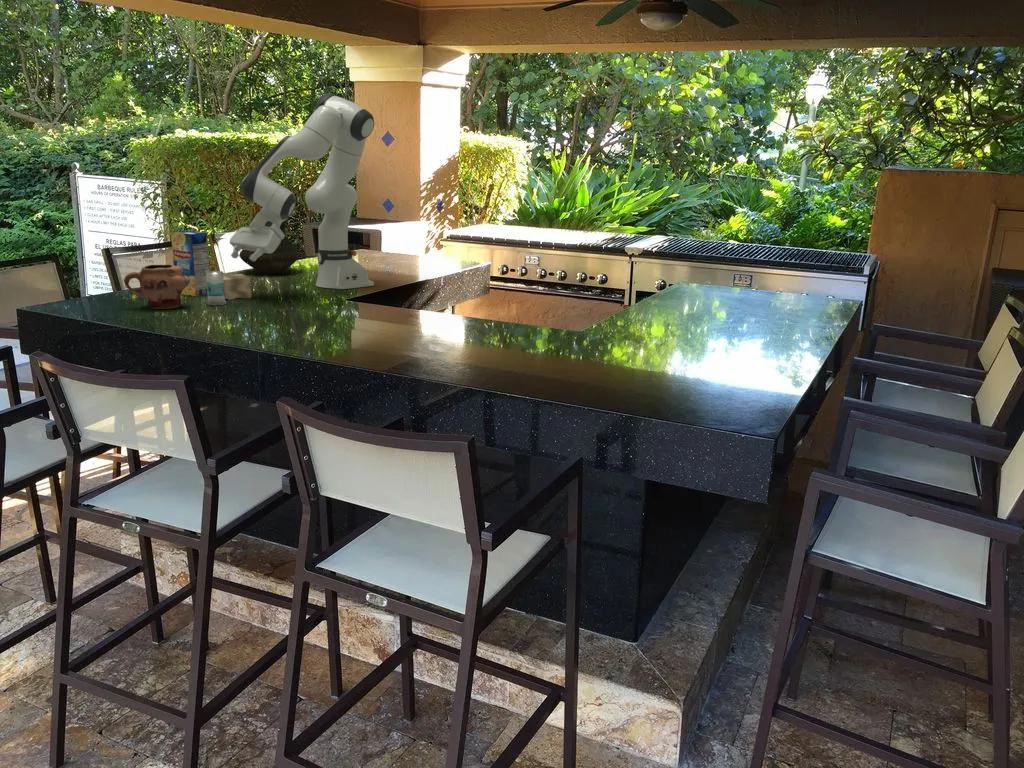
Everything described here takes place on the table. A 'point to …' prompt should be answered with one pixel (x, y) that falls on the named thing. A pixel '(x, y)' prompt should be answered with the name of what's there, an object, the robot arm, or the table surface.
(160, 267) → the decorative planter
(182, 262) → the beverage box
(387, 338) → the table surface
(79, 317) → the table surface
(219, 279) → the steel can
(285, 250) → the ceramic pot
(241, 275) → the oak block
